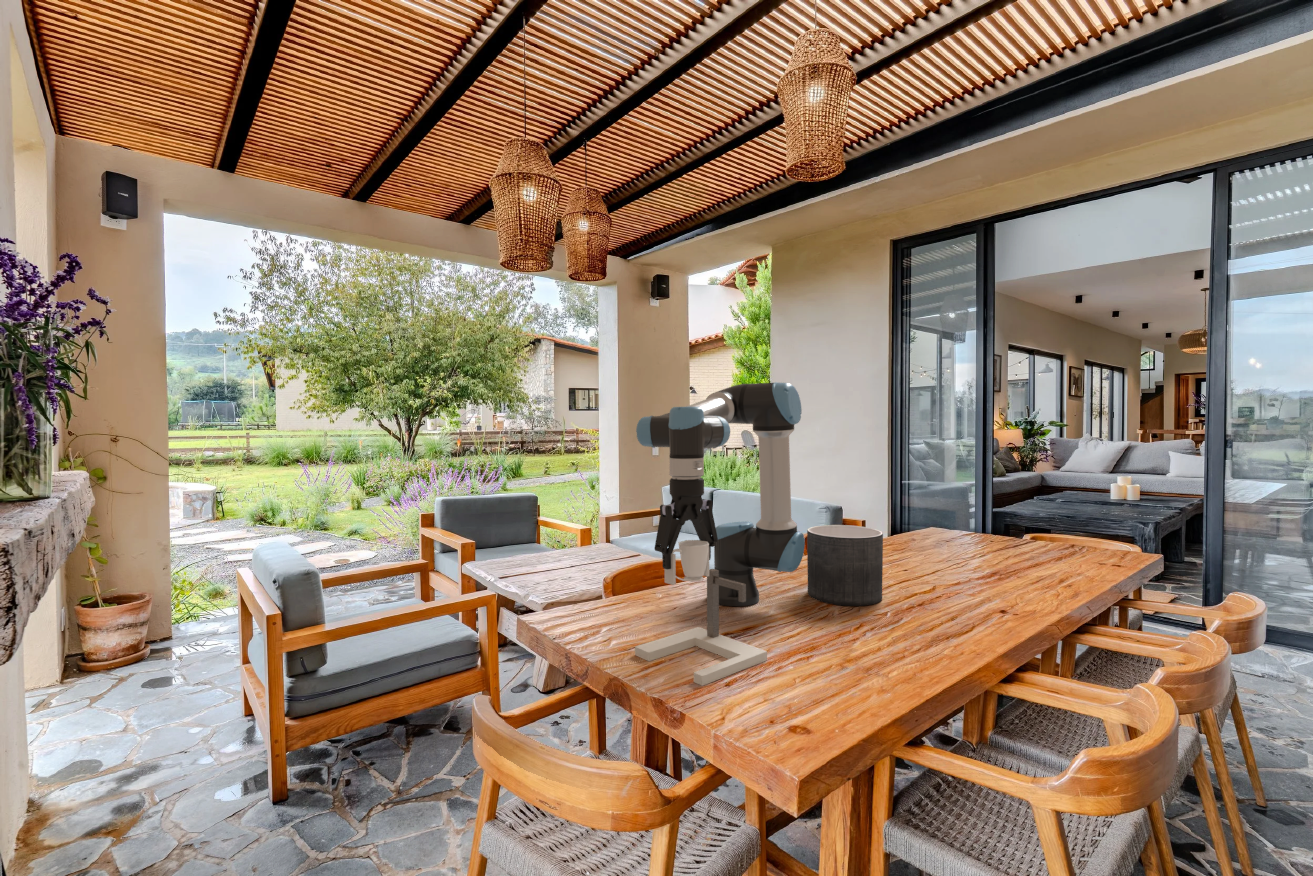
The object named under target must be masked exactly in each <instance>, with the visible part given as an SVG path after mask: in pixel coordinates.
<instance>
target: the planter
mask: <svg viewBox="0 0 1313 876" xmlns="http://www.w3.org/2000/svg"><path fill="white" fill-rule="evenodd" d="M806 531H807V532H806V534H807V535H806V537H807V538H806V539H807V540H806V544H807V545H806V546H807V547H806V549H807V550H806V551H807V554H806V555H807V557H806V558H807V595H808V596H809V597H810V598H812V599H813V600H815V601H818V602H822V603H826V604H830V605H836V606H845V607H846V606H847V607H860V606H861V607H864V606H871V605H875V604H878V603H880V602H881V601H882V600H883V572H884V571H883V565H884V563H883V558H884V557H883V556H884V554H883V553H884V532H883V531H881V530H879V529H875V528H872V527H866V526H860V525H859V526H858V525H847V524H845V525H844V524H829V525H828V524H826V525H825V524H824V525H816V526H811V527H808V528H807V530H806Z"/></svg>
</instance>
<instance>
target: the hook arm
mask: <svg viewBox="0 0 1313 876" xmlns="http://www.w3.org/2000/svg"><path fill="white" fill-rule="evenodd" d="M719 585H720V586H724V587H728V588H731V589H735V590H739V602H746V584H744V583H740V582H736V581H732V580H728V579H724V578H721V577H719V570H716V569H714V568H709V576H708V577H707V576H706V630H707V636H709V637H712V638H715V637H718V636H719V634H720V629H719V628H720V604H719Z"/></svg>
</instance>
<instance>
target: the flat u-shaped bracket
mask: <svg viewBox="0 0 1313 876" xmlns="http://www.w3.org/2000/svg"><path fill="white" fill-rule="evenodd" d="M697 646H698V647H697ZM694 647H697V648H698V649H699V648H700V649H703V650H704V651H708V652H710V653H712V654H714V655H717V654H718V656H720V657H723V658H725V659H726V660H723V661H721V662H717V663H715V664H712V665H710V666H707V667H704V668H702V669H699V670H697V671H694V672H693V683H695V684H697V685H700V686H702V687H703V686H706V685H708V684H711V683H713V682H716V681H718V680H721V679H723V678H727V677H729V676H731V675H733V674H735V673H738V672H740V671H743V670H746V669H749V668H751V667H753V666H756V665H758V664H761V663H763V662H766V661H767V660H768V651H767V650H764V649H762V648H758V647H756V646H754V645H750V644H748V643H745V642H743V641H740V640H737V639H734V638H731V637H728V636H725V635H722V634H720V633H719V636H718V637H715V638H712V637H709V636H707V628H703V627H700V626H697V627H694V628H690V629H687V630H684V631H681V632H677V633H674V634H671V635H668V636H667V635H666V636H665V637H662V638H658V639H655V640H651V641H649V642H646V643H642V644H639V645H636V646H634V656H636V657H639V658H641V659H643V660H645V661H646V662H652V661H655V660H657V659H661V658H663V657H667V656H669V655H672V654H675V653H679V652H681V651H685V650H687V649H691V648H694Z"/></svg>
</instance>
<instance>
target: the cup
mask: <svg viewBox="0 0 1313 876" xmlns="http://www.w3.org/2000/svg"><path fill="white" fill-rule="evenodd" d="M708 549H709V543H708V542H707V541H701V540H699V539H688V540H687V539H686V540H682V541H678V548H674V549H673V552H672V553H673V554H675V553H679V554H680V562H681V566H682V570H683V574H684V577H683V578H681V577H679V576H677V575H676V579H678V580H679V581H683V582H690V583H692V582H693V583H695V582H696V583H697V582H701V581H704V576H703V575H704V572H705V568H706V563H707V555H708Z"/></svg>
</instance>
